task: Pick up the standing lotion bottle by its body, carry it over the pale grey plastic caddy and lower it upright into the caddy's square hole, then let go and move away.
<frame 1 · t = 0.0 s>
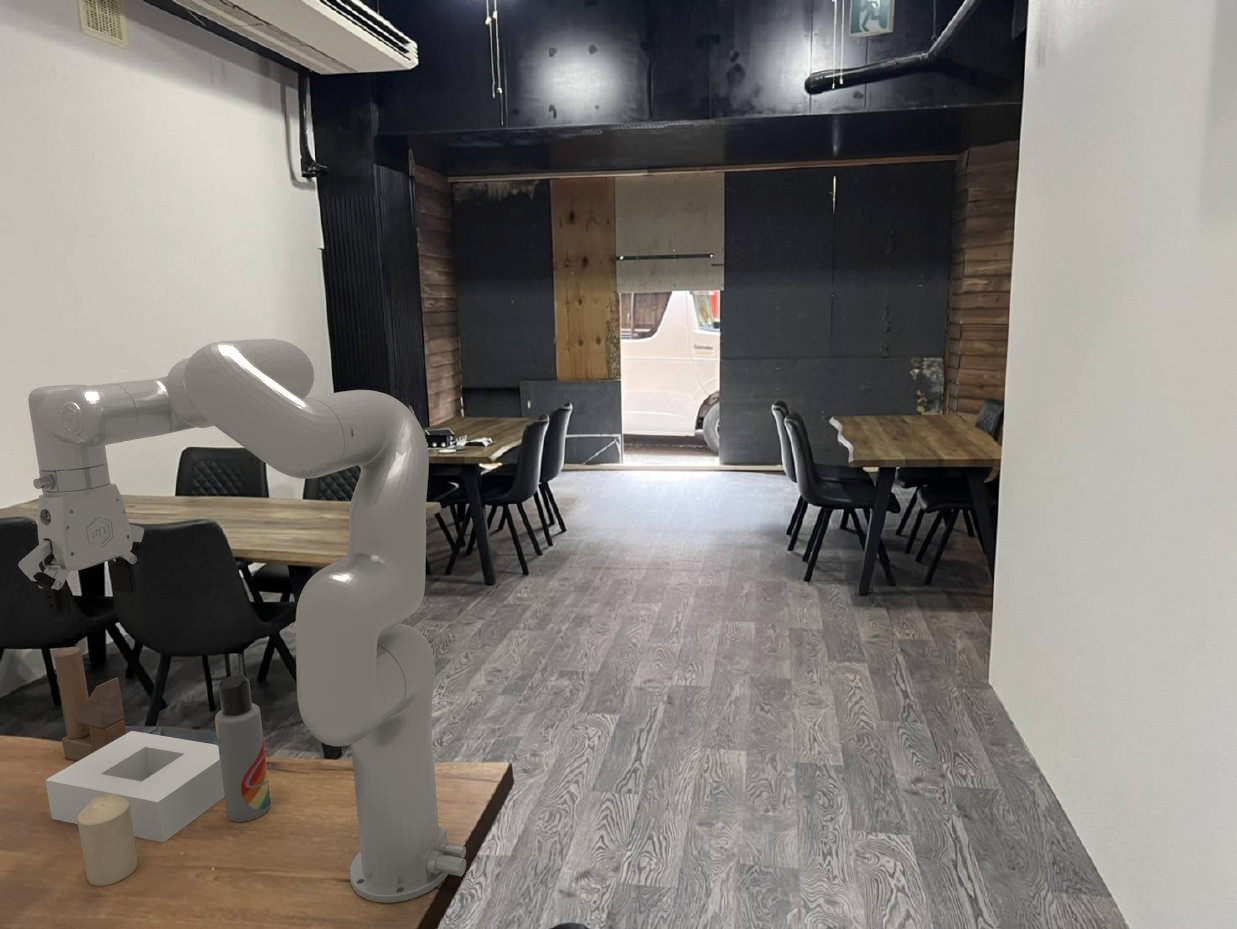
hand: (94, 603, 109), 31 cm above the table, tool pointing down, fingers open, 9 cm apart
bottle caddy: (149, 801, 118), on the table
lotion bottle: (249, 812, 115), on the table
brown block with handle: (98, 760, 130), on the table
candle: (113, 873, 103), on the table
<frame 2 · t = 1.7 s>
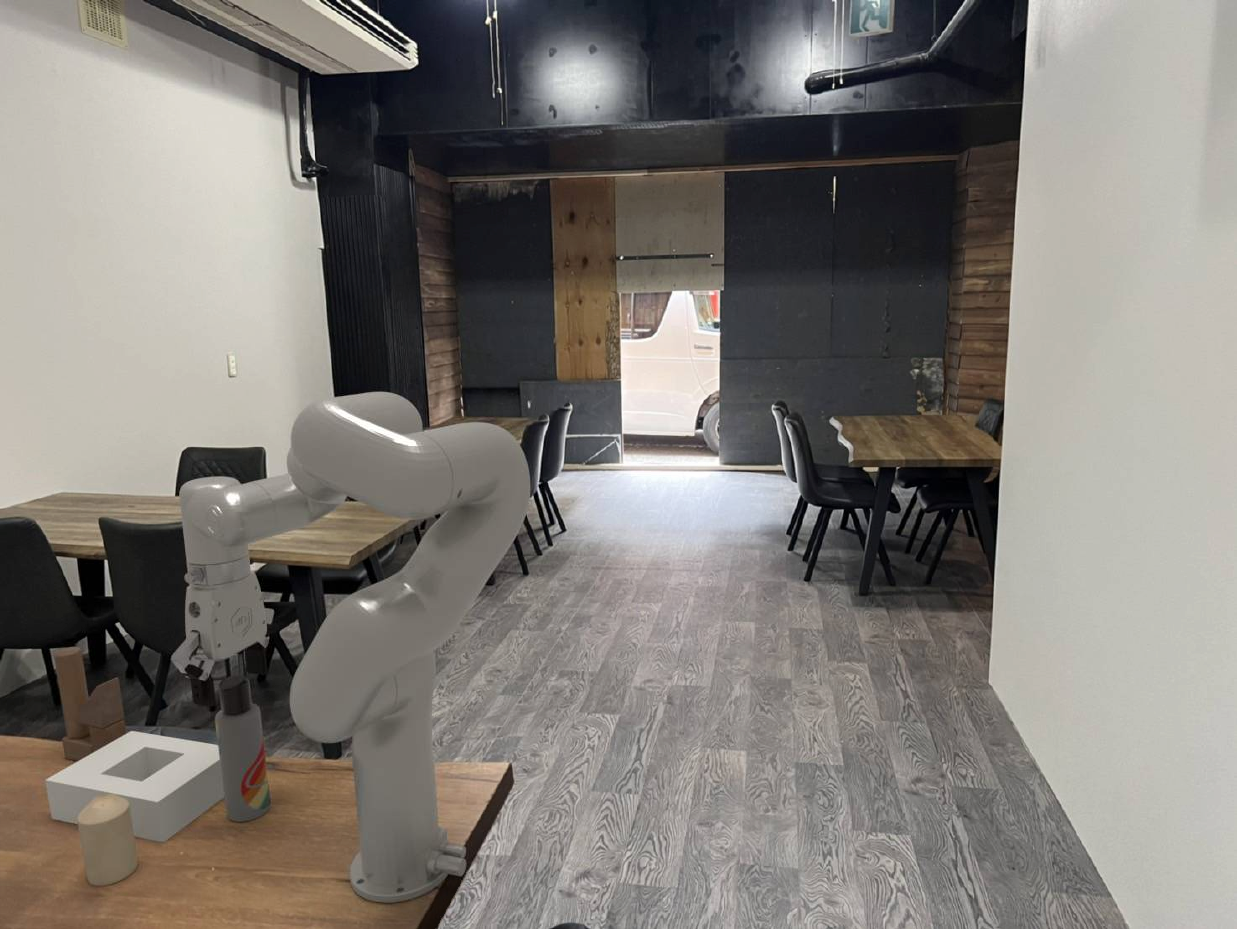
hand: (232, 688, 112), 18 cm above the table, tool pointing down, fingers open, 9 cm apart
nothing on the table moved.
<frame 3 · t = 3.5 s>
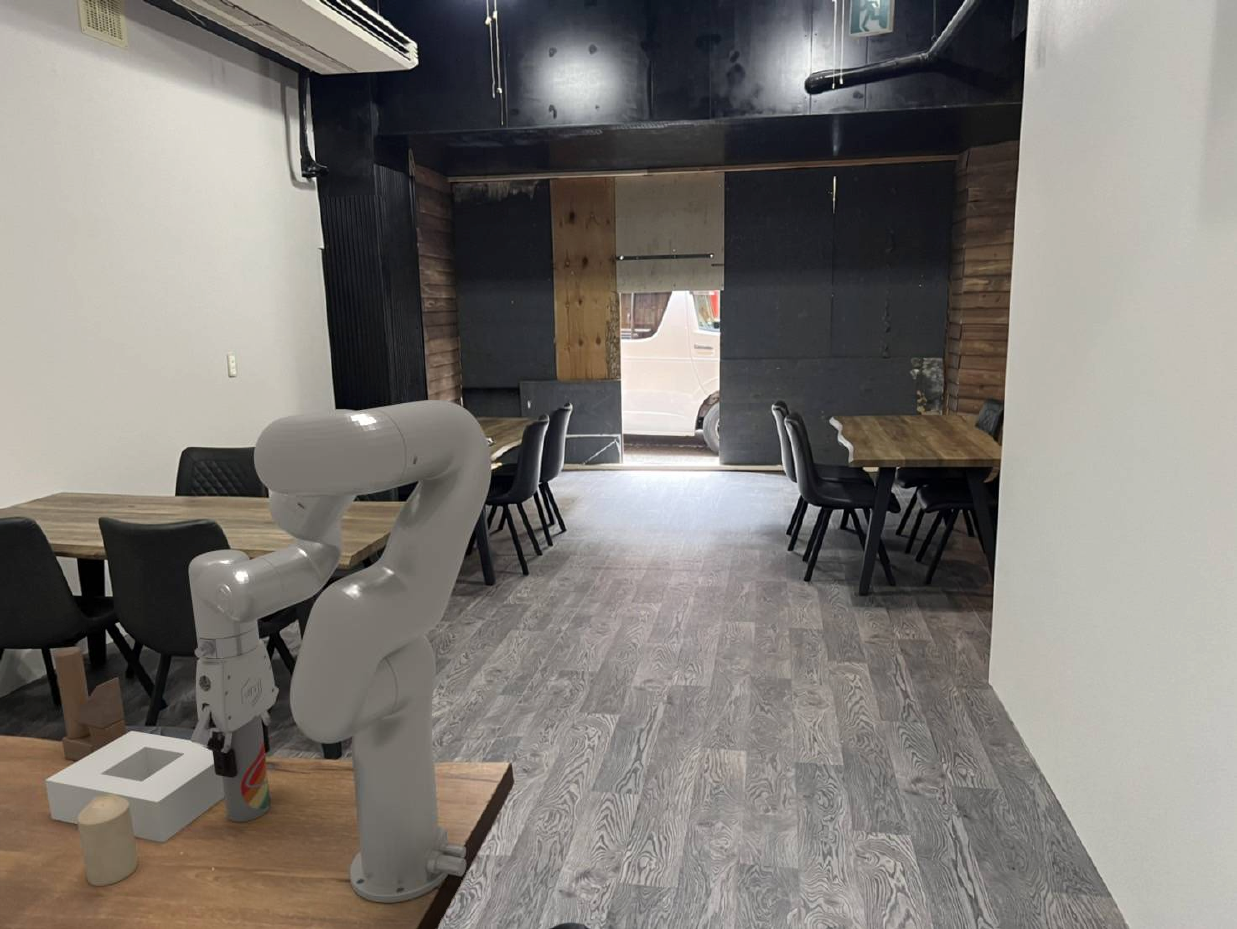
hand: (243, 762, 113), 8 cm above the table, tool pointing down, fingers closed on lotion bottle, 5 cm apart
lotion bottle: (249, 812, 115), on the table, touching gripper
everything else where it was.
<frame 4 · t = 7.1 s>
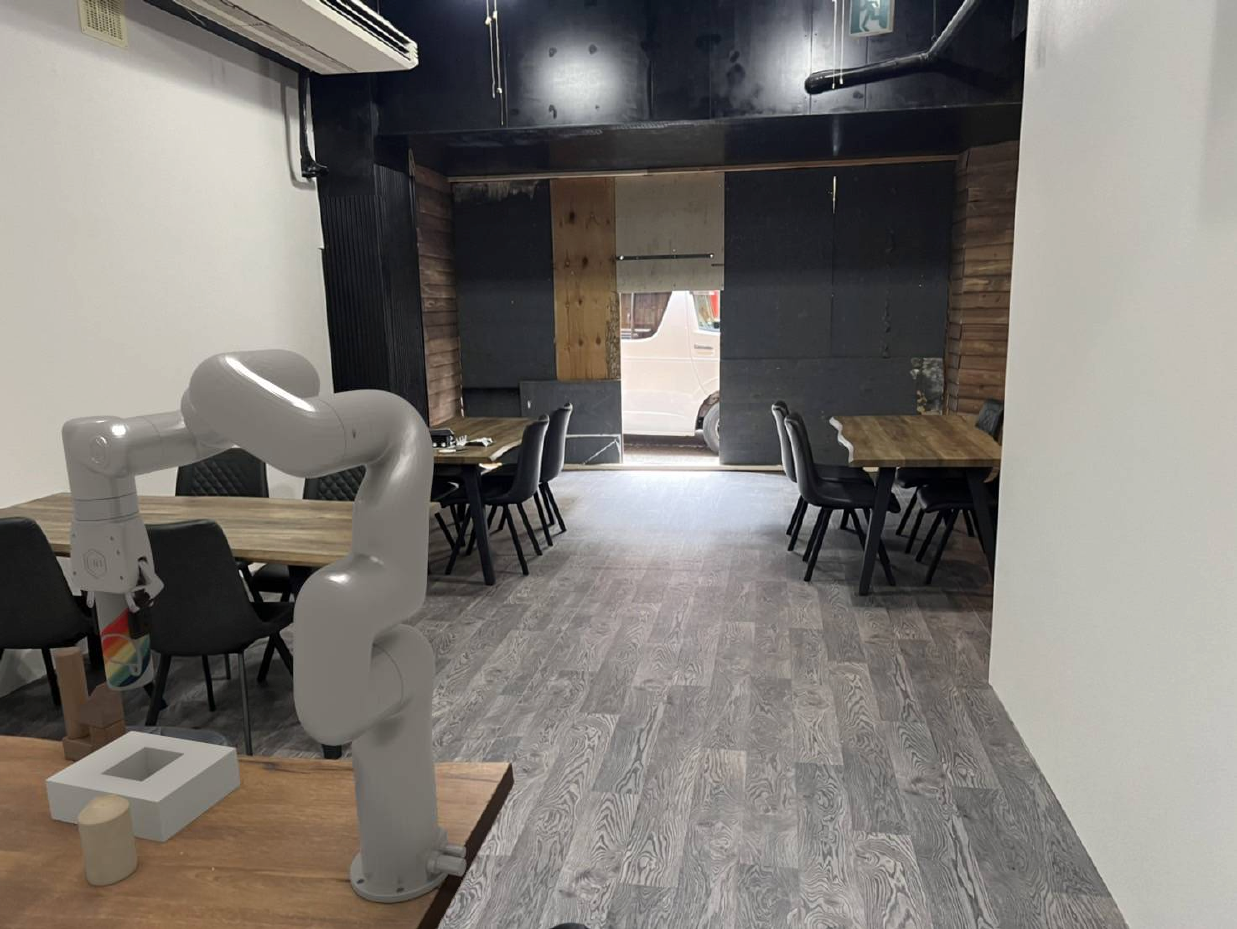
hand: (124, 632, 113), 26 cm above the table, tool pointing down, fingers closed on lotion bottle, 5 cm apart
lotion bottle: (131, 683, 114), point 18 cm above the table, touching gripper
everything else where it was.
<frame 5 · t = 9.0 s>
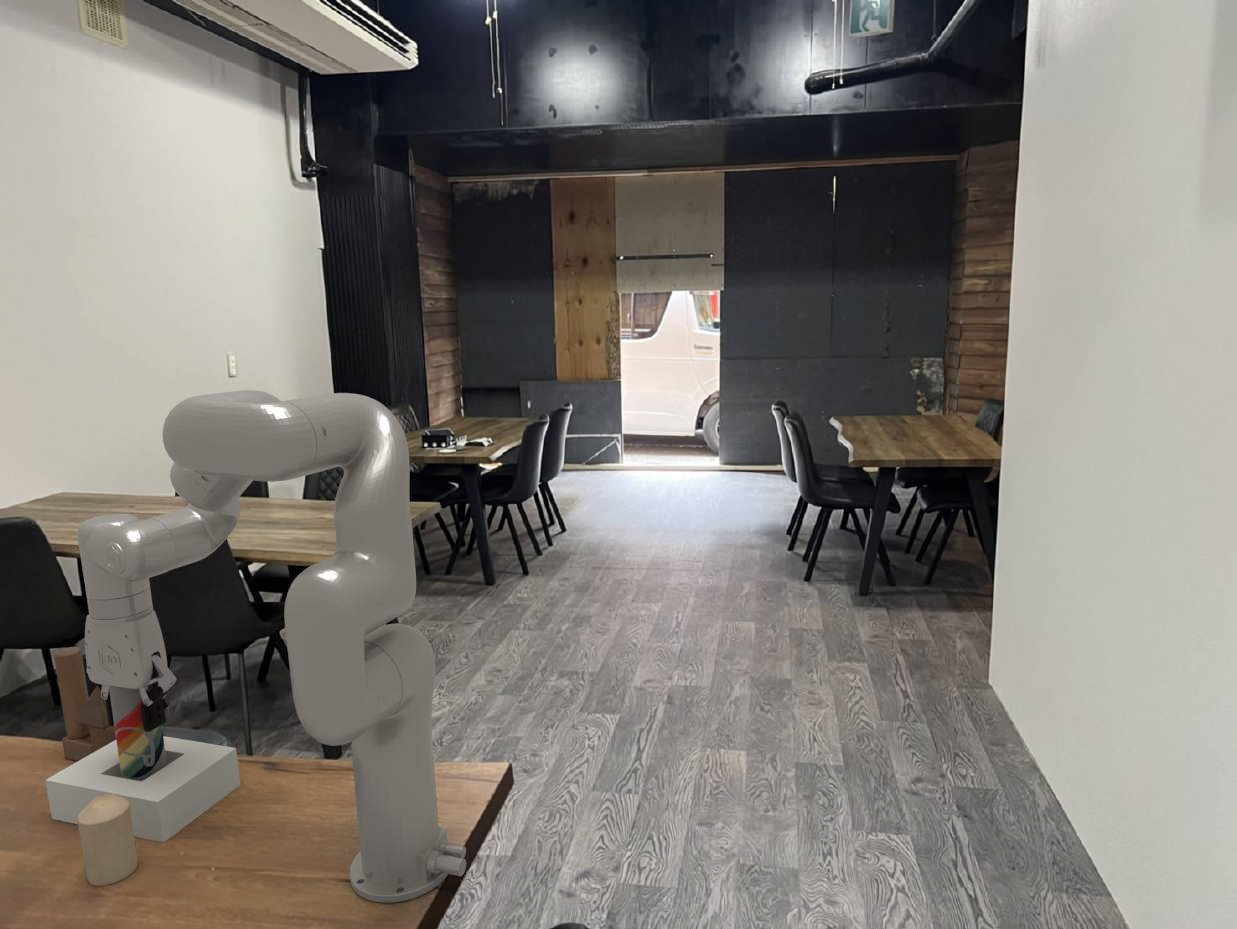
hand: (137, 723, 115), 12 cm above the table, tool pointing down, fingers closed on lotion bottle, 5 cm apart
lotion bottle: (144, 772, 117), point 5 cm above the table, touching gripper
everything else where it was.
when the fingers open (8 cm above the table, at t = 10.6 s): lotion bottle stays where it is, resting in bottle caddy.
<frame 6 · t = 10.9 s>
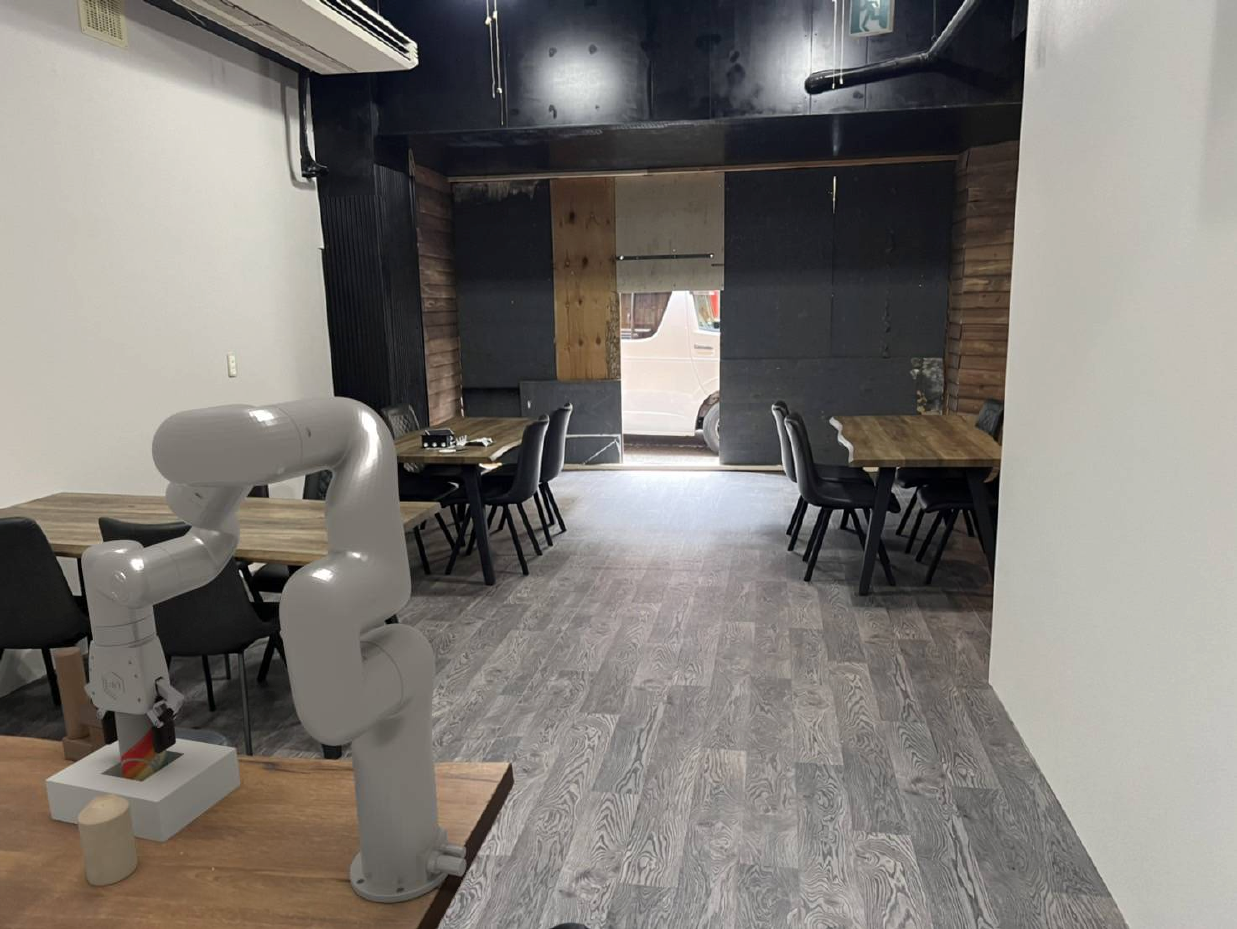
hand: (140, 744, 116), 9 cm above the table, tool pointing down, fingers open, 8 cm apart
lotion bottle: (149, 802, 118), resting in bottle caddy
everything else where it was.
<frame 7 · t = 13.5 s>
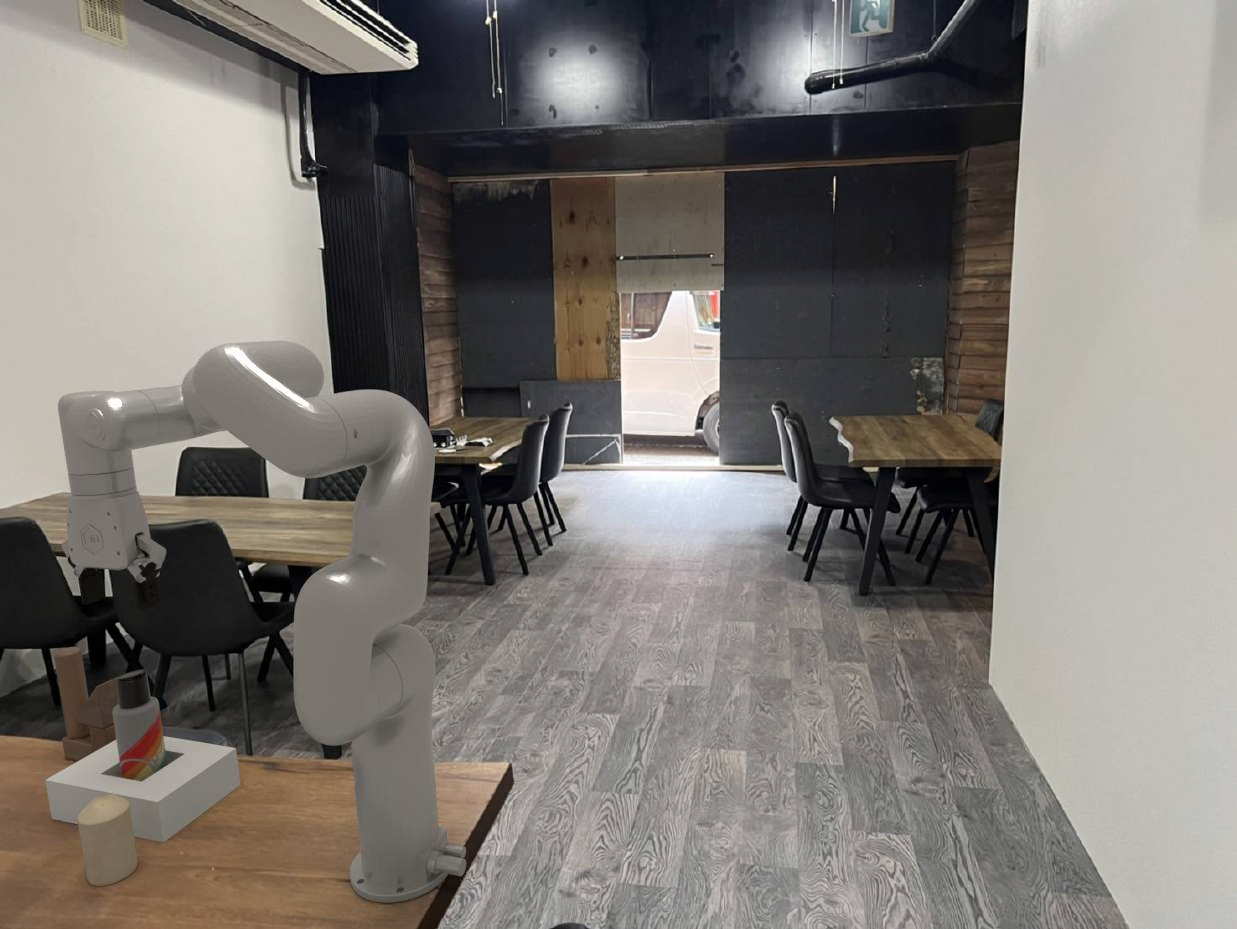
hand: (121, 604, 112), 30 cm above the table, tool pointing down, fingers open, 9 cm apart
nothing on the table moved.
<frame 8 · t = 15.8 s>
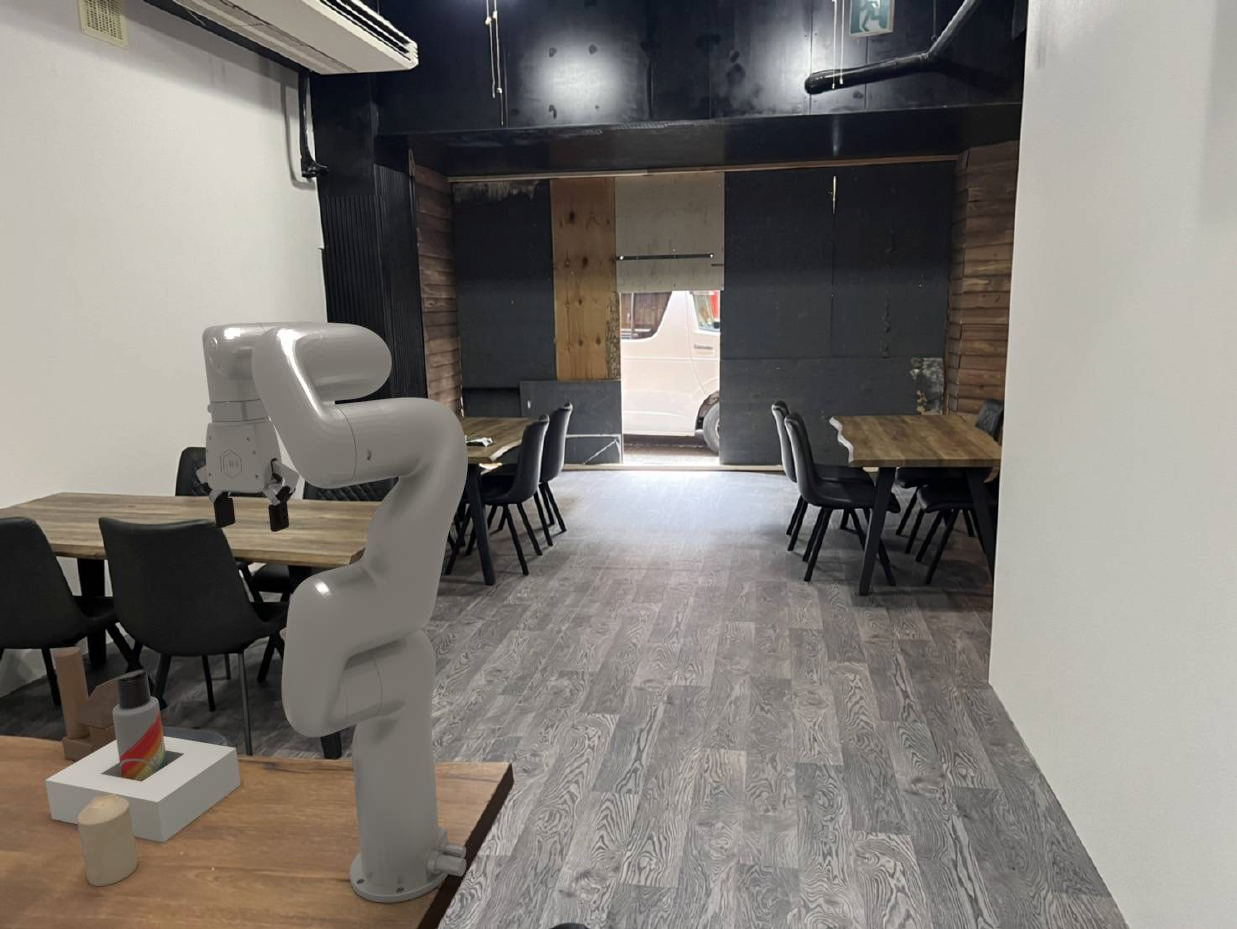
hand: (252, 527, 119), 38 cm above the table, tool pointing down, fingers open, 9 cm apart
nothing on the table moved.
at the end: lotion bottle 0.0 cm off-centre on the bottle caddy, point 0.0 cm above the bottle caddy's base; lotion bottle tilted 0°; the gripper is holding nothing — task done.
